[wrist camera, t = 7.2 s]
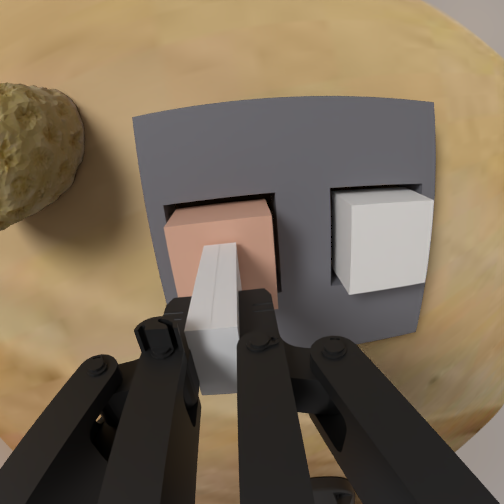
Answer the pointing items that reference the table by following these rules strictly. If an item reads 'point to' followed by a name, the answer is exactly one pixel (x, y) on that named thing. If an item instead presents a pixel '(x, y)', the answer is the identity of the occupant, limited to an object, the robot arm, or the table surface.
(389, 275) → the key soft
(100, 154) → the table surface
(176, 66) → the table surface
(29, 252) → the table surface
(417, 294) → the key panel
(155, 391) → the robot arm
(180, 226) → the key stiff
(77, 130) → the rock
